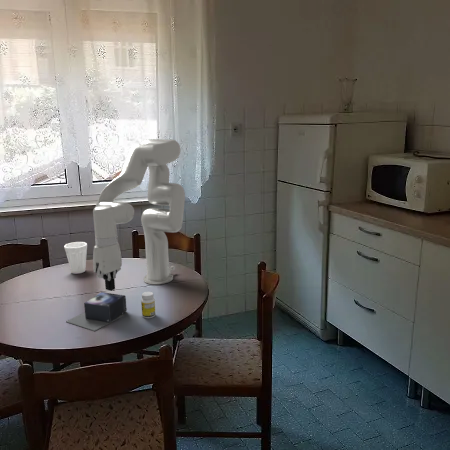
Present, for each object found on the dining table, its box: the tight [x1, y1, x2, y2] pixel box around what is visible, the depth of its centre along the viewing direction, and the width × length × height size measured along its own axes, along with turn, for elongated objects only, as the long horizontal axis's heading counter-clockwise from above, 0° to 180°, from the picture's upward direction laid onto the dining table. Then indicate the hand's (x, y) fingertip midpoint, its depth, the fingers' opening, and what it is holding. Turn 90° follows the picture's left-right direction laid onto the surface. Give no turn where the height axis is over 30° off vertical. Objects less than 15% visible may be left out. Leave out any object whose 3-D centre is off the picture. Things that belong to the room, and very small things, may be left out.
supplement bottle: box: [140, 291, 156, 319], centre depth 156 cm, size 5×5×8 cm
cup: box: [63, 241, 88, 274], centre depth 202 cm, size 10×10×13 cm
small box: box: [83, 291, 128, 324], centre depth 157 cm, size 11×6×10 cm
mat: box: [65, 311, 125, 332], centre depth 156 cm, size 14×14×1 cm
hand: (110, 289), depth 160 cm, fingers closed
